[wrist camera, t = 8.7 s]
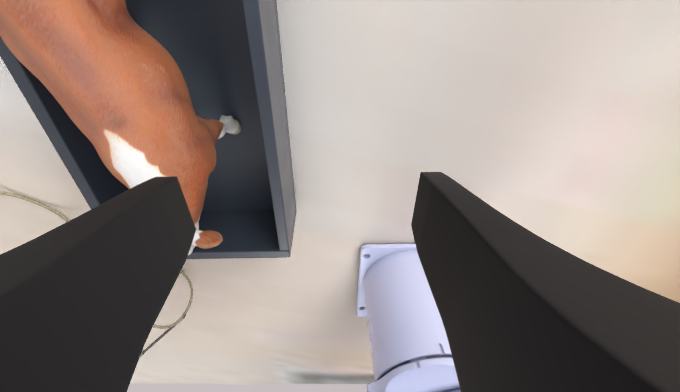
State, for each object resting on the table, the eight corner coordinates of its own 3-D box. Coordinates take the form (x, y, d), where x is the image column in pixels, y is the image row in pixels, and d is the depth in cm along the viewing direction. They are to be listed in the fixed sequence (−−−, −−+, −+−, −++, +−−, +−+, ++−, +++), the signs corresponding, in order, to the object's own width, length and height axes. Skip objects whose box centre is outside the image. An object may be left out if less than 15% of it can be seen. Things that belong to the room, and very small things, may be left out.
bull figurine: (204, 191, 20) (143, 293, 14) (60, -68, 13) (-239, -122, 6) (266, 179, 20) (235, 278, 13) (157, -95, 12) (-47, -184, 6)
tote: (296, 212, 22) (290, 257, 19) (155, 213, 22) (121, 260, 18) (263, -137, 12) (234, -188, 8) (-3, -144, 12) (-153, -199, 8)
